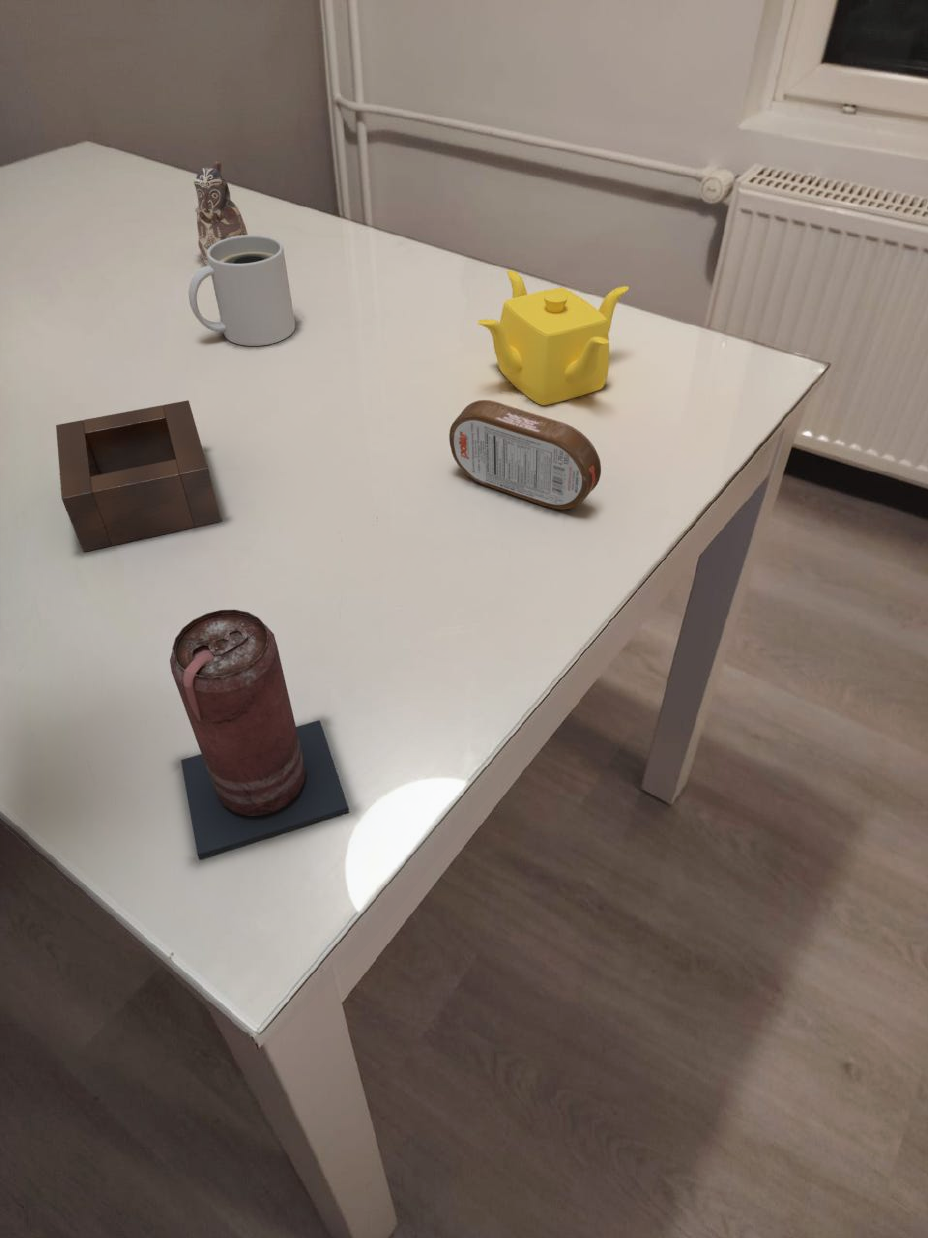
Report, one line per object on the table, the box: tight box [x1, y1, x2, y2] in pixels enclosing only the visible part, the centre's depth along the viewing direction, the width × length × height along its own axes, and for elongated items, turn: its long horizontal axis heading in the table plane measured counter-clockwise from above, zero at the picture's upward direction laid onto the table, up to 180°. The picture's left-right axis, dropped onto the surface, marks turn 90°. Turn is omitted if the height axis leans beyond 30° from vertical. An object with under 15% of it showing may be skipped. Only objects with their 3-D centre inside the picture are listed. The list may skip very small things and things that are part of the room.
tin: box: [448, 399, 602, 510], centre depth 81 cm, size 15×3×8 cm, turn 59°
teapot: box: [476, 269, 630, 406], centre depth 96 cm, size 15×14×10 cm
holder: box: [55, 399, 222, 553], centre depth 81 cm, size 12×12×6 cm
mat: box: [180, 719, 350, 860], centre depth 60 cm, size 10×8×1 cm
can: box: [169, 609, 306, 816], centre depth 54 cm, size 6×6×14 cm
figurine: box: [193, 161, 249, 266], centre depth 120 cm, size 7×7×12 cm
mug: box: [188, 234, 296, 347], centre depth 105 cm, size 11×10×10 cm
